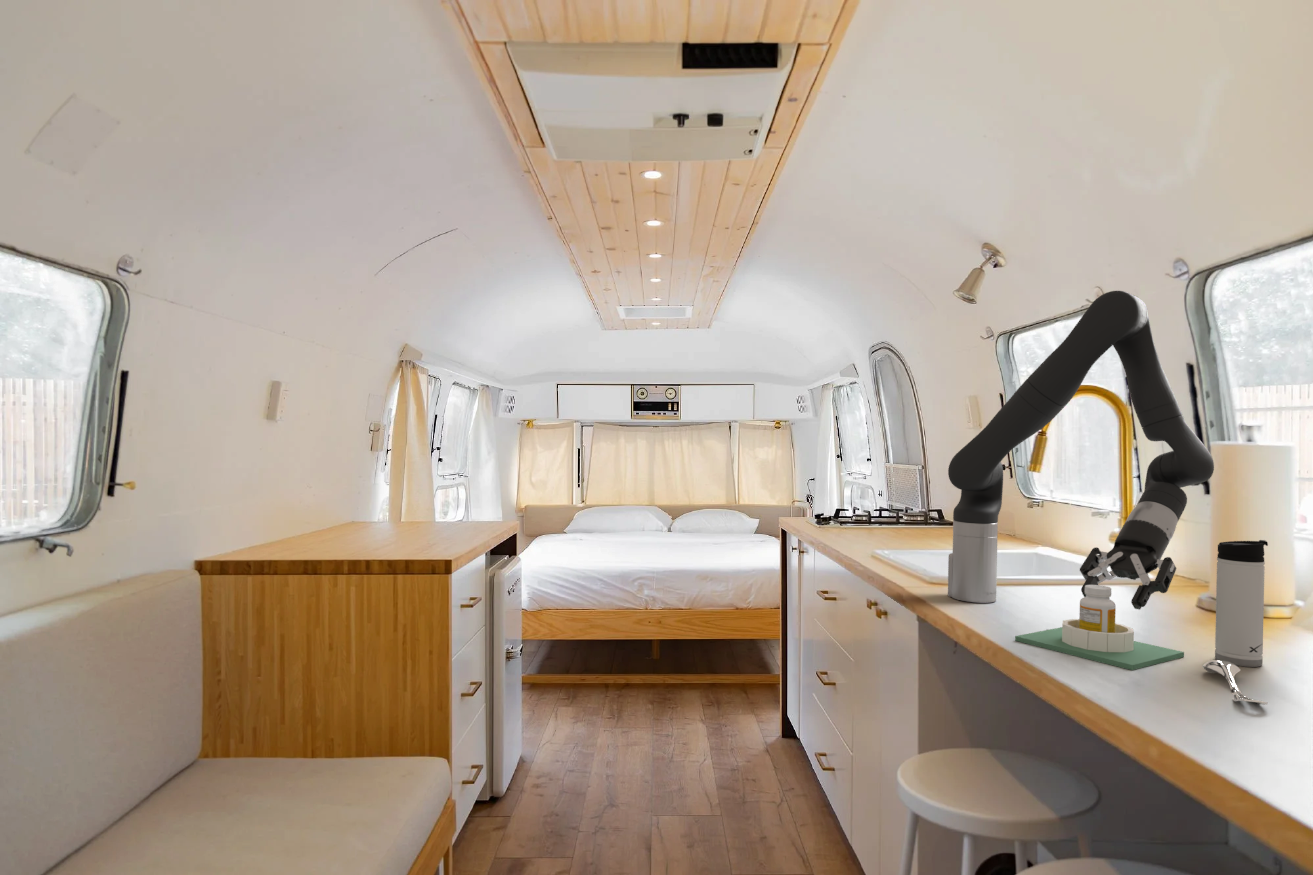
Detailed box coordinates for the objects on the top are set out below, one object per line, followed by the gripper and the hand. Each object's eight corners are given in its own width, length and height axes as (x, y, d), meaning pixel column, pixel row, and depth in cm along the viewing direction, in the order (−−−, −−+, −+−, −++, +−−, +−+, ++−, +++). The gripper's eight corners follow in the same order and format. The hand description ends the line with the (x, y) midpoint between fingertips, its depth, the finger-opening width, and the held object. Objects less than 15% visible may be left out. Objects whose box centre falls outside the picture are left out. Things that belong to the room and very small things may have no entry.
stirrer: (1278, 687, 104) (1234, 682, 106) (1278, 715, 104) (1234, 709, 105) (1235, 658, 122) (1198, 654, 124) (1235, 682, 122) (1198, 678, 124)
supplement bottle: (1105, 639, 139) (1106, 584, 139) (1120, 648, 133) (1122, 590, 133) (1073, 638, 139) (1074, 583, 139) (1087, 646, 134) (1088, 589, 134)
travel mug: (1267, 670, 125) (1270, 543, 125) (1216, 663, 128) (1218, 539, 128) (1262, 660, 130) (1265, 539, 130) (1213, 654, 134) (1216, 535, 133)
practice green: (1015, 640, 140) (1015, 619, 140) (1067, 630, 149) (1067, 610, 149) (1132, 670, 123) (1132, 645, 123) (1184, 656, 132) (1184, 633, 132)
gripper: (1099, 514, 149) (1062, 580, 143) (1182, 522, 136) (1144, 595, 131) (1114, 541, 151) (1078, 607, 146) (1196, 551, 139) (1161, 623, 133)
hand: (1110, 601), depth 138 cm, fingers open, 8 cm apart
